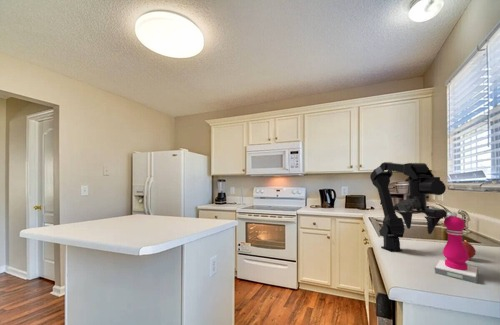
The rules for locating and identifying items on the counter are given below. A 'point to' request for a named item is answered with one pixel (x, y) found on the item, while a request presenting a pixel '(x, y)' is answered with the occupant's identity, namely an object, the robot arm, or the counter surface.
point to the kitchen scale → (457, 272)
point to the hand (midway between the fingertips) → (418, 231)
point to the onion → (469, 249)
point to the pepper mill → (455, 243)
